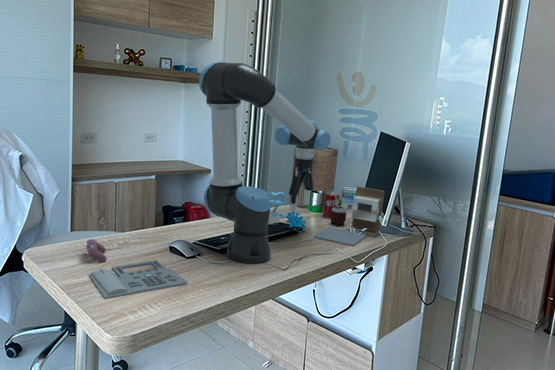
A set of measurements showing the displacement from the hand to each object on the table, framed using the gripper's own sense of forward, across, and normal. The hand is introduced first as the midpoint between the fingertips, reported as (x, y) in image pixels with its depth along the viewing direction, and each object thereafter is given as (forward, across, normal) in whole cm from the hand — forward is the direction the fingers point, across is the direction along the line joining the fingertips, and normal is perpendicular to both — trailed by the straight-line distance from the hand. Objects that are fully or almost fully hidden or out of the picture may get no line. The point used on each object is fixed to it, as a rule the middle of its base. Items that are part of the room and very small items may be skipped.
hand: (300, 207), depth 200 cm
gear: (+10, 0, +1) cm, 10 cm away
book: (+11, +52, +15) cm, 56 cm away
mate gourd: (+10, +22, -10) cm, 26 cm away
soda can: (+10, +32, -3) cm, 33 cm away
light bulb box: (+11, +60, -5) cm, 62 cm away
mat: (+10, +4, -18) cm, 21 cm away
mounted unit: (+10, +18, -24) cm, 31 cm away
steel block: (+10, +4, +14) cm, 18 cm away
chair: (+10, +14, +18) cm, 25 cm away
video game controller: (+9, -75, +37) cm, 84 cm away
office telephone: (+9, -81, +16) cm, 83 cm away
